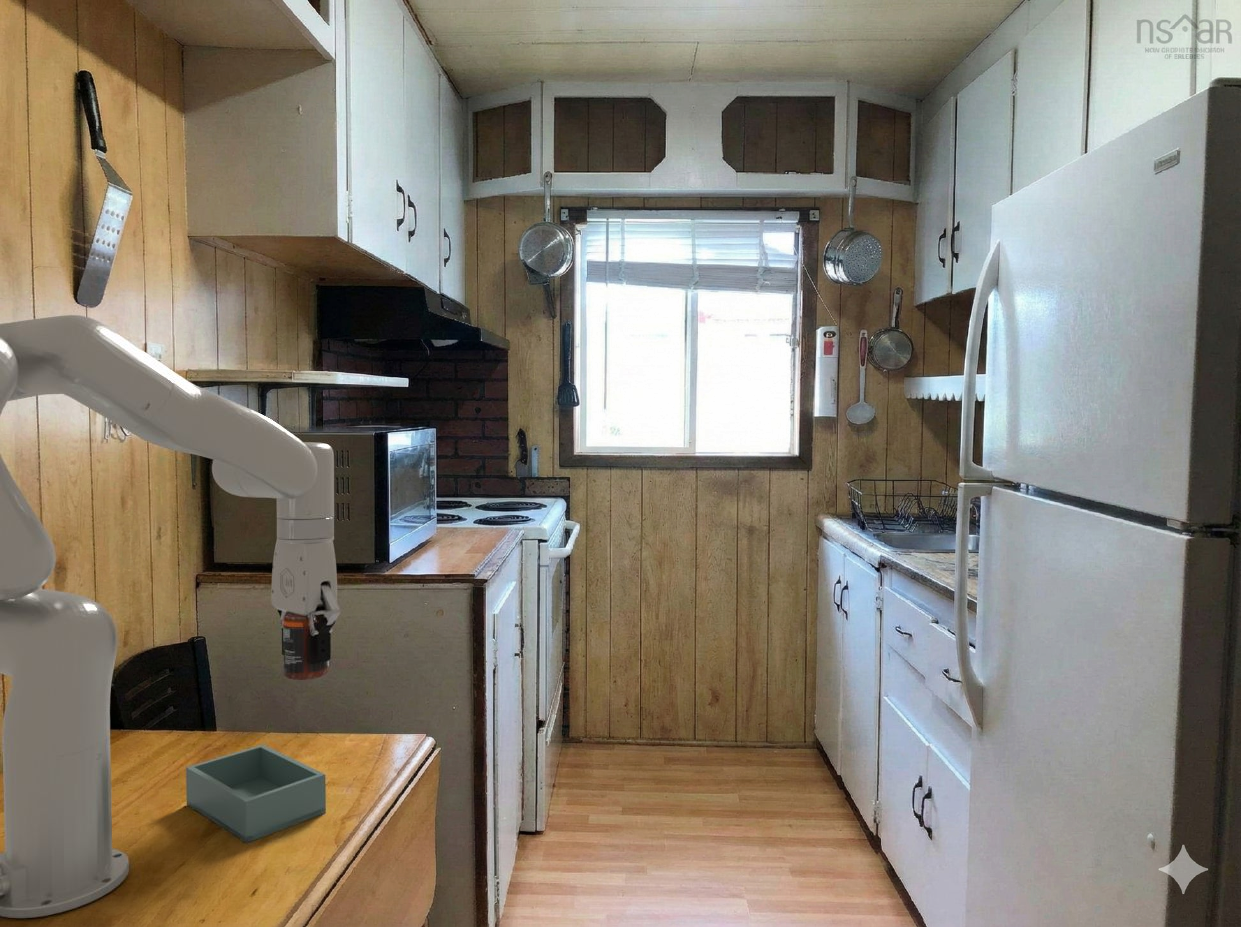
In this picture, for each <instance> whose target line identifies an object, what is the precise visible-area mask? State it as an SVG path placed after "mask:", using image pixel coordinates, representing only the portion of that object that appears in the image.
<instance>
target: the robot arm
mask: <svg viewBox="0 0 1241 927" xmlns="http://www.w3.org/2000/svg"><path fill="white" fill-rule="evenodd" d="M46 395H64V396H67V397H69V398H70V399H72V400H74V401H76V402H78V403H80V404H81V405H83V406H85V407H86V408H89V409H90V410H92V411H94V412H96V413H97V414H99V415H100V416H102V417H104V418H106V419H107V420H109V421H110V422H112V423H114V424H115V425H117V426H120V427H121V428H123V429H124V430H126V431H128V432H130V433H131V434H132V435H135V436H136V437H137V438H140V439H141V440H143V441H144V442H147V443H149V444H152V445H155V446H158V447H162V448H164V449H166V450H167V449H168V450H171V451H174V452H175V451H176V452H180V453H185V454H191V455H195V456H201V457H203V458H207V459H210V460H212V465H211V472H212V476H213V477H212V478H213V479H214V481H215V483H216V484H217V485H218V486H219V487H220V488H221V489H222V490H224V491H225V492H227V493H229V494H230V495H234V496H238V497H243V498H255V499H256V498H259V499H261V498H269V499H276V542H275V547H274V552H273V559H272V560H273V561H272V571H271V592H270V593H271V594H270V595H271V596H270V598H271V605H272V606H273V607H274V608H275V609H277V613H278V615H279V617H280V619H279V625H280V627H281V654H282V656H284V636H283V619H284V615H285V613H286V612H289V613H293V614H297V615H301V616H306V615H307V618H308V623H309V628H310V632H311V635H308V663H309V664H316V663H321V662H325V661H330V660H331V657H332V656H331V654H332V652H331V651H332V648H331V647H332V646H331V645H332V644H331V643H332V642H331V640H332V639H331V634H332V633H333V631H334V625H335V624H336V620H337V619H338V617H339V616H340V614H341V607H340V606H339V605H338V604H339V603H338V602H337V601H338V574H337V562H336V553H335V545H334V540H335V457H334V456H335V454H334V449H333V448H332V446H331V445H329V443H328V444H327V443H323V442H313V441H311V442H309V441H308V442H307V441H306V442H303V440H301V439H300V438H298V437H297V436H295V435H294V434H293V433H292V432H290V431H288V430H287V429H286V428H284V427H283V426H282V425H280V424H278V423H277V422H275V420H274V421H273V419H271V418H268V417H267V416H265V415H263V414H261V413H259V412H257V411H255V410H253V409H251V408H249V407H246V406H244V405H242V404H239V403H237V402H235V401H233V400H230V399H228V398H226V397H224V396H221V395H219V394H217V393H215V392H213V391H210V390H207V389H205V388H203V387H201V386H198V385H196V384H194V383H192V382H191V381H189V380H187V379H186V378H184V377H183V376H181V375H180V374H178V373H177V372H176V371H174V370H172V368H170V367H168V366H167V365H165V364H164V363H162V362H161V361H159V360H157V359H156V358H154V357H153V356H152V355H150V354H149V353H147V352H146V351H145V350H143V349H141V348H140V347H138V346H137V345H136V344H134V343H132V342H131V341H129V340H128V339H126V337H124V336H122V335H121V334H119V333H118V332H116V331H115V330H113V329H112V328H111V327H109V326H107V325H105V324H104V323H103V322H101V321H99V320H96V319H94V318H91V317H88V316H84V315H80V314H79V315H78V314H68V315H67V314H64V315H58V316H50V317H41V318H33V319H26V320H19V321H13V322H3V323H0V416H1V415H2V412H3V410H4V408H5V407H6V405H7V402H10V401H11V402H12V401H17V400H22V399H26V398H32V397H37V396H46ZM15 481H16V480H14V478H13V477H12V475H11V472H10V471H9V469H8V467H7V465H6V463H5V461H4V459H3V457H2V455H1V454H0V674H1V675H4V676H8V677H10V678H11V685H10V690H9V696H8V698H7V701H6V705H5V709H4V713H3V714H4V715H3V719H2V720H3V721H2V728H1V730H2V731H1V736H2V737H1V747H2V771H3V772H2V778H3V814H4V818H3V819H4V822H3V824H4V851H3V852H0V917H3V918H4V917H5V918H10V919H30V918H32V919H33V918H39V917H47V916H51V915H55V914H60V913H64V912H67V911H70V910H73V909H74V910H75V909H77V908H79V907H82V906H85V905H87V904H89V903H92V902H94V901H96V900H98V899H99V898H100V899H101V898H102V897H103V896H105V895H107V894H109V893H110V892H112V891H113V890H114V889H115V888H117V887H118V886H119V885H120V884H122V882H123V881H125V879H126V877H128V874H129V872H130V860H129V859H130V858H129V857H128V855H127V854H126V853H124V852H123V851H121V850H118V849H117V848H116V849H115V848H113V821H112V820H113V819H112V818H113V817H112V816H113V815H112V773H111V772H112V769H111V768H112V767H111V765H112V764H111V761H112V760H111V714H110V713H111V711H110V710H111V691H112V690H111V688H112V682H113V674H114V669H115V664H116V659H117V653H118V645H119V643H118V642H119V640H118V639H119V637H118V628H117V626H116V623H115V621H114V619H113V617H112V616H111V614H110V612H109V611H108V610H107V609H106V608H105V607H103V605H101V604H99V603H98V602H96V601H95V600H93V599H91V598H89V597H86V596H83V595H79V594H77V593H71V592H65V591H59V590H53V589H45V588H42V587H43V586H45V584H46V583H47V582H48V581H49V579H50V578H51V576H52V575H53V572H54V570H55V566H56V561H57V560H56V558H57V556H56V550H55V546H54V543H53V541H52V539H51V537H50V535H49V533H48V532H47V530H46V529H45V526H44V525H43V523H42V521H40V518H38V517H37V515H36V513H35V511H34V509H33V508H32V507H31V505H30V503H29V502H28V500H27V499H26V497H25V495H24V494H23V492H22V491H21V489H20V487H19V486H18V485H17V483H16V482H15ZM317 607H321V610H320V611H315V610H316V608H317ZM317 616H322V617H321V618H320V620H319V621H318V623H317V621H316V617H317Z"/></svg>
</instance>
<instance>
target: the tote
mask: <svg viewBox="0 0 1241 927" xmlns="http://www.w3.org/2000/svg"><path fill="white" fill-rule="evenodd" d="M185 775H186V776H185V777H186V778H185V779H186V781H185V782H186V786H185V787H186V790H185V791H186V806H188V807H189V806H190V809H192V808H193V809H192V810H193V811H195V810H196V811H195V812H199V813H198V814H201V815H202V816H203V817H205V818H206V817H207V819H208V820H209V819H210V821H211V822H212V823H214V824H215V825H217V826H219V827H221V828H222V829H224V830H225V831H227V832H228V833H230V834H231V835H233V836H235V837H236V838H237V839H239V840H240V841H242V842H244V843H246V844H249V843H251V842H253V841H255V840H258V839H261V838H265V837H267V836H269V835H272V834H274V833H276V832H279V831H282V830H285V829H288V828H289V827H292V826H295V825H298V824H301V823H303V822H305V821H308V820H311V819H314V818H316V817H319V816H321V815H324V814H326V813H327V812H326V810H327V809H326V808H327V803H326V802H327V800H326V799H327V798H326V797H327V795H326V794H327V793H326V792H327V791H326V786H327V785H326V773H323V772H321V771H319V770H317V769H315V768H313V767H311V766H309V765H307V764H304V763H302V762H301V761H298V760H296V759H294V758H292V757H290V756H288V755H286V754H284V753H282V752H279V751H277V750H276V749H273V748H271V747H269V746H267V745H265V744H260V745H256V746H253V747H249V748H247V749H243V750H239V751H236V752H234V753H233V752H232V753H229V754H226V755H223V756H220V757H215V758H213V759H210V760H206V761H203V762H200V763H196V764H193V765H190V766H187V767H185Z"/></svg>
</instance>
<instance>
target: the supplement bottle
mask: <svg viewBox="0 0 1241 927" xmlns="http://www.w3.org/2000/svg"><path fill="white" fill-rule="evenodd" d="M320 610H321V607H317V608H316V610H315V611H320ZM321 617H322V616H317V617H316V621H317V623H318V621H319V620H320V618H321ZM282 628H283V636H284V655H283V675H284V676H285V678H287V679H289V680H296V681H303V680H304V681H305V680H314V679H317V678H321V677H323V676H325V675H326V674H327V673H328V672H329V666H330V665H329V661H330V660H329V661H325V662H321V663H316V664H309V663H308V635H311V632H310V628H309V623H308V618H307V615H306V616H301V615H297V614H293V613H289V612H286V613H285V615H284V619H283V627H282Z"/></svg>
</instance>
